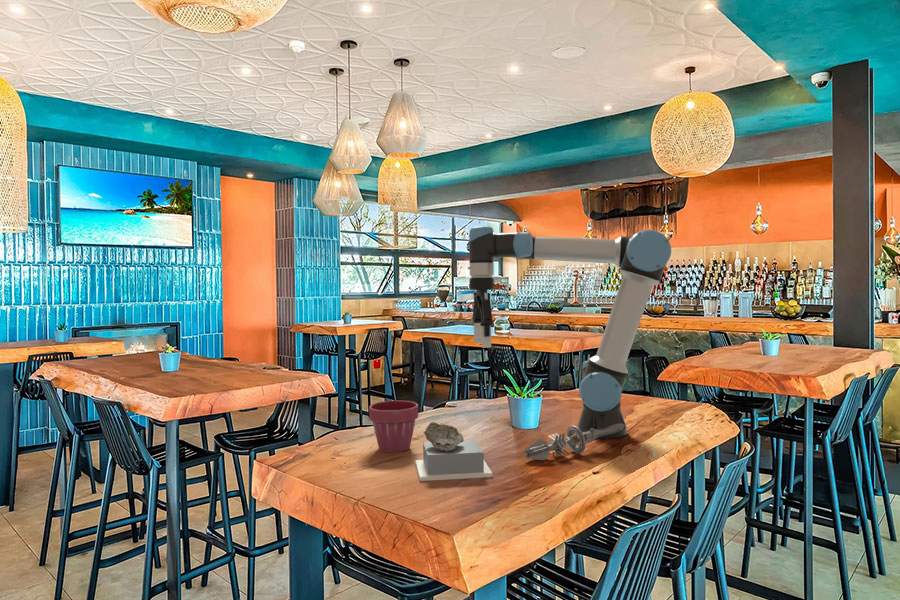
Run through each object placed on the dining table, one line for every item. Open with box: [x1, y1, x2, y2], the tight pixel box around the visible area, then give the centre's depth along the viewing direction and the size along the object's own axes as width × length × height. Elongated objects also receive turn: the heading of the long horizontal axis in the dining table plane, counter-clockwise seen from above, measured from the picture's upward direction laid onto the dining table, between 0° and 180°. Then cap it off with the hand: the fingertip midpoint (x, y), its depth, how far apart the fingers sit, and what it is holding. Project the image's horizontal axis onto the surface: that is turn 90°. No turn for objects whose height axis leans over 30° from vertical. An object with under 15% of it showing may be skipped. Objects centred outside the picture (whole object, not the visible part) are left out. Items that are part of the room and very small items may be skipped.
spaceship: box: [523, 423, 624, 461], centre depth 165 cm, size 8×35×8 cm
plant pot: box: [368, 399, 419, 453], centre depth 172 cm, size 14×14×13 cm
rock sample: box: [423, 421, 465, 452], centre depth 150 cm, size 11×8×9 cm
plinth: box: [415, 439, 494, 482], centre depth 151 cm, size 18×14×6 cm
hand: (482, 345), depth 183 cm, fingers open, 13 cm apart
